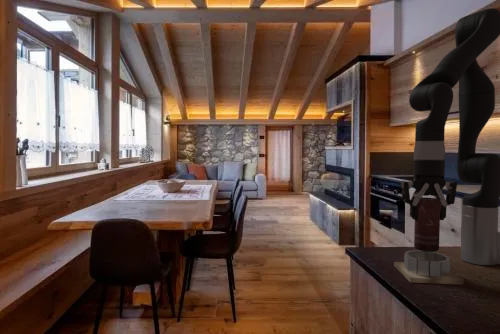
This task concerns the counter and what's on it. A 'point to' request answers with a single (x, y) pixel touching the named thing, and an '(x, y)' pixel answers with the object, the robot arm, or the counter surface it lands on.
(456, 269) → the counter surface
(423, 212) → the can
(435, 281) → the stand
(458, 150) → the robot arm
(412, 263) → the collar
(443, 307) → the counter surface
